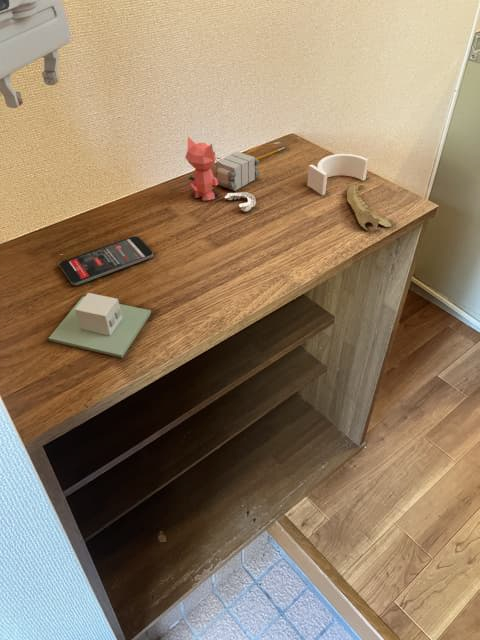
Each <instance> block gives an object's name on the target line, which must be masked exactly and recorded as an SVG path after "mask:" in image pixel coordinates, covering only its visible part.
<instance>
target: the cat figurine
mask: <svg viewBox="0 0 480 640" xmlns="http://www.w3.org/2000/svg"><path fill="white" fill-rule="evenodd" d="M218 159H219V160H222V159H223V158H220V157H216V152H215V151H214V148H213V144H212V143H211V144H210V145H208V144H207V143H206V142H197V143H196V142H195V141H194V140H192V138H190V136H187V152H186V154H185V160H186V161H187V162H188V163H189V165H190V166H192V167H193V168H194V172H193V175H191V176H190V177H189V178H188V180H190V182H189V183H188V186H189V187H190V188H191V189H192V190H193V191H195V193H194V197H195V198H196V199H199V198H201V201H212V200H215V199H216V198H217V197H218V195H217V194H215V193H214V191H213V189H214V188H216V187H217V186H218V180H217V178H216V177H217V176H216V177H215V176H214V173H213V171H212V168H213V167H214V166H215V164H216V162H218V161H219V160H218ZM219 163H220V162H219ZM220 164H221V163H220Z"/></svg>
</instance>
